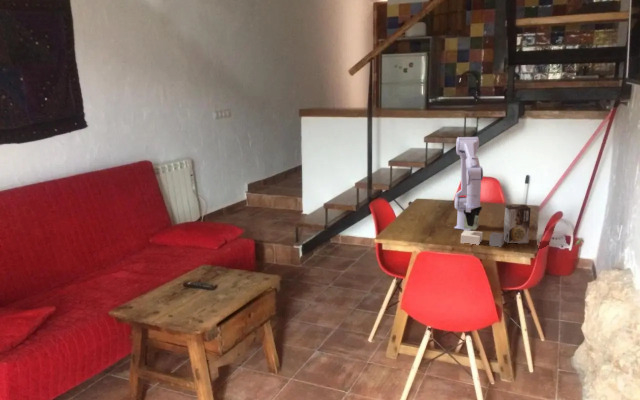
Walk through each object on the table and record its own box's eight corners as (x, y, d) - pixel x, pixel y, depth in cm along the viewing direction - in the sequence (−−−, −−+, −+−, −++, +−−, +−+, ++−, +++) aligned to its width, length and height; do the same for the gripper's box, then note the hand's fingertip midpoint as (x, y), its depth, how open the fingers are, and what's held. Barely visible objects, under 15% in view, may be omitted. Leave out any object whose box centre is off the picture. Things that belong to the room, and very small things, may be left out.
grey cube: (492, 242, 224) (492, 232, 223) (503, 244, 222) (504, 233, 220) (489, 246, 220) (489, 235, 219) (501, 248, 217) (501, 236, 216)
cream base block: (463, 238, 232) (464, 230, 231) (482, 240, 228) (482, 232, 228) (460, 243, 225) (460, 235, 224) (479, 245, 222) (479, 237, 221)
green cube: (467, 225, 229) (467, 214, 227) (478, 226, 226) (479, 216, 225) (464, 228, 225) (464, 217, 223) (475, 229, 222) (475, 218, 221)
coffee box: (522, 238, 228) (525, 204, 224) (528, 243, 222) (531, 207, 218) (502, 239, 228) (504, 204, 224) (508, 244, 222) (510, 208, 218)
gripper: (469, 190, 230) (468, 219, 233) (459, 197, 218) (458, 227, 221) (485, 191, 226) (483, 221, 229) (475, 198, 214) (474, 229, 217)
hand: (472, 224), depth 225 cm, fingers closed on green cube, 5 cm apart
